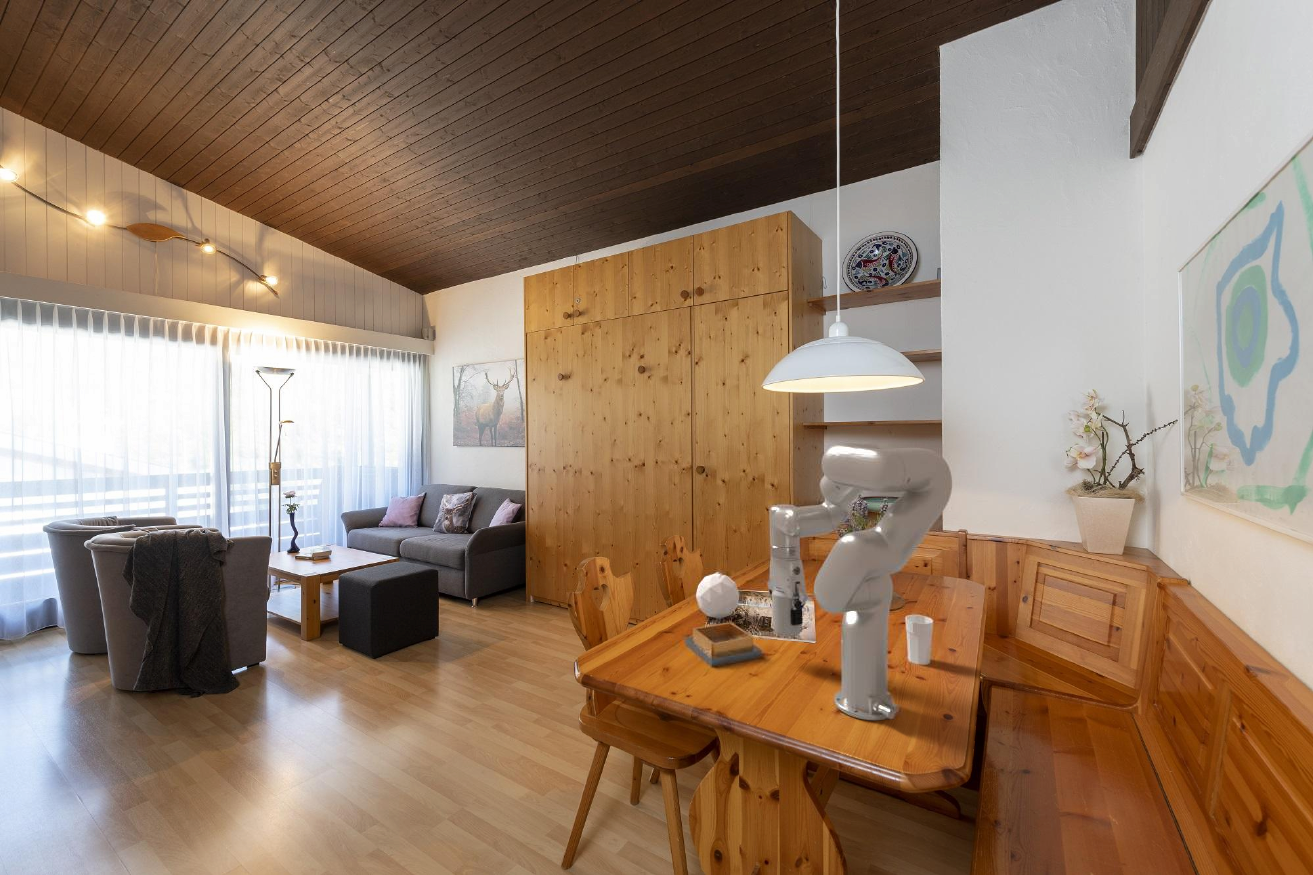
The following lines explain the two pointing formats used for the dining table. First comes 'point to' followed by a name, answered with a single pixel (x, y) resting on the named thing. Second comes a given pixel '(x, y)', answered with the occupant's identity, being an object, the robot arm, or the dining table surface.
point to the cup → (919, 638)
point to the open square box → (723, 644)
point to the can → (783, 614)
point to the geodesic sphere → (717, 595)
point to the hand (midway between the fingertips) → (787, 619)
